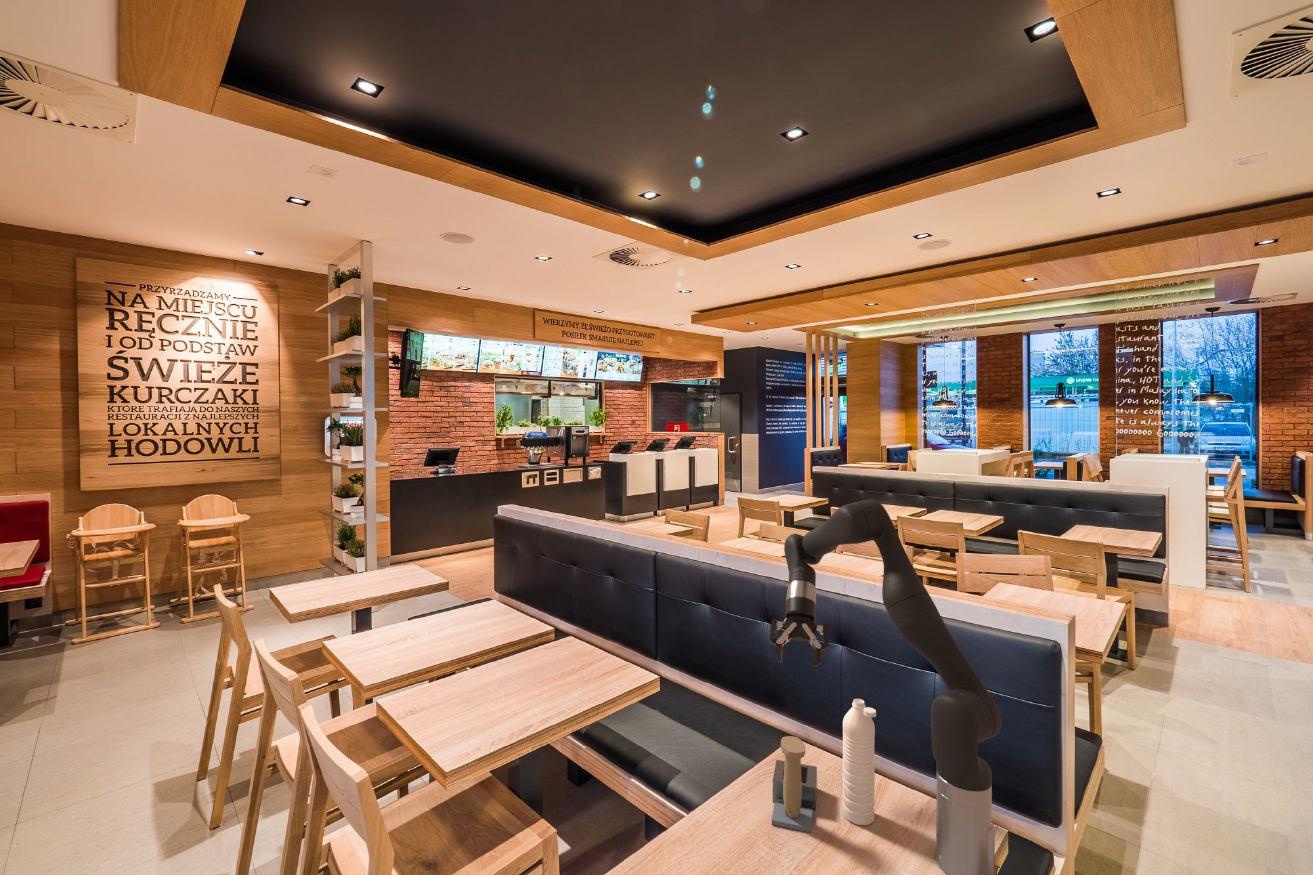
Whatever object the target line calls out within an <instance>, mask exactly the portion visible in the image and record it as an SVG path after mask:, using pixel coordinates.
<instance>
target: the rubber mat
mask: <svg viewBox="0 0 1313 875" xmlns="http://www.w3.org/2000/svg"><path fill="white" fill-rule="evenodd" d="M784 807H785V806H784V804H781V803H776V802H775V803H774V804H773V811H772V815H771V816H772V817H771V825H772V826H776V827H780V828H785V829H791V830H796V831H800V832H805V833H810V834H811V833H812V826H813V825H812V823H813V822H812V821H813V810H812V809H807V808H802V807H800V814H799V815H798V818H790V817H789V816H788V815H786V814H785V811H784Z"/></svg>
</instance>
